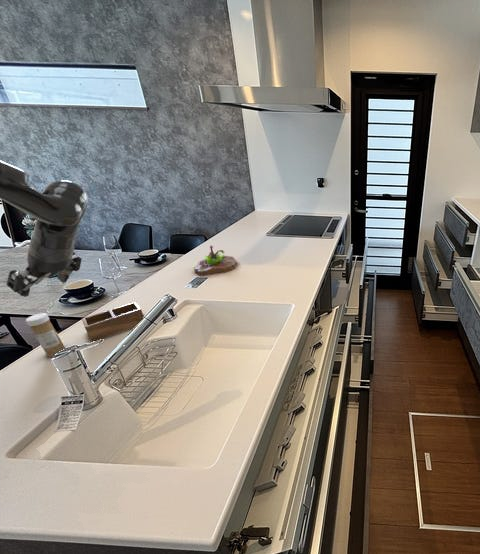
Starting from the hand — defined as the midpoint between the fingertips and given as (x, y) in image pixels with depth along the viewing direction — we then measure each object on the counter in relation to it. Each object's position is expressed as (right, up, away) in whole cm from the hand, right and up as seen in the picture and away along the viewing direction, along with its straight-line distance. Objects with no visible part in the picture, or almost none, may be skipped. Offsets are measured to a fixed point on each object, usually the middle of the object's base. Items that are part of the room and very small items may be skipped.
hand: (43, 286), depth 82 cm
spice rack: (-1, -15, +25) cm, 30 cm away
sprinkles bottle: (-10, -21, +13) cm, 27 cm away
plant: (+9, +8, +76) cm, 77 cm away
